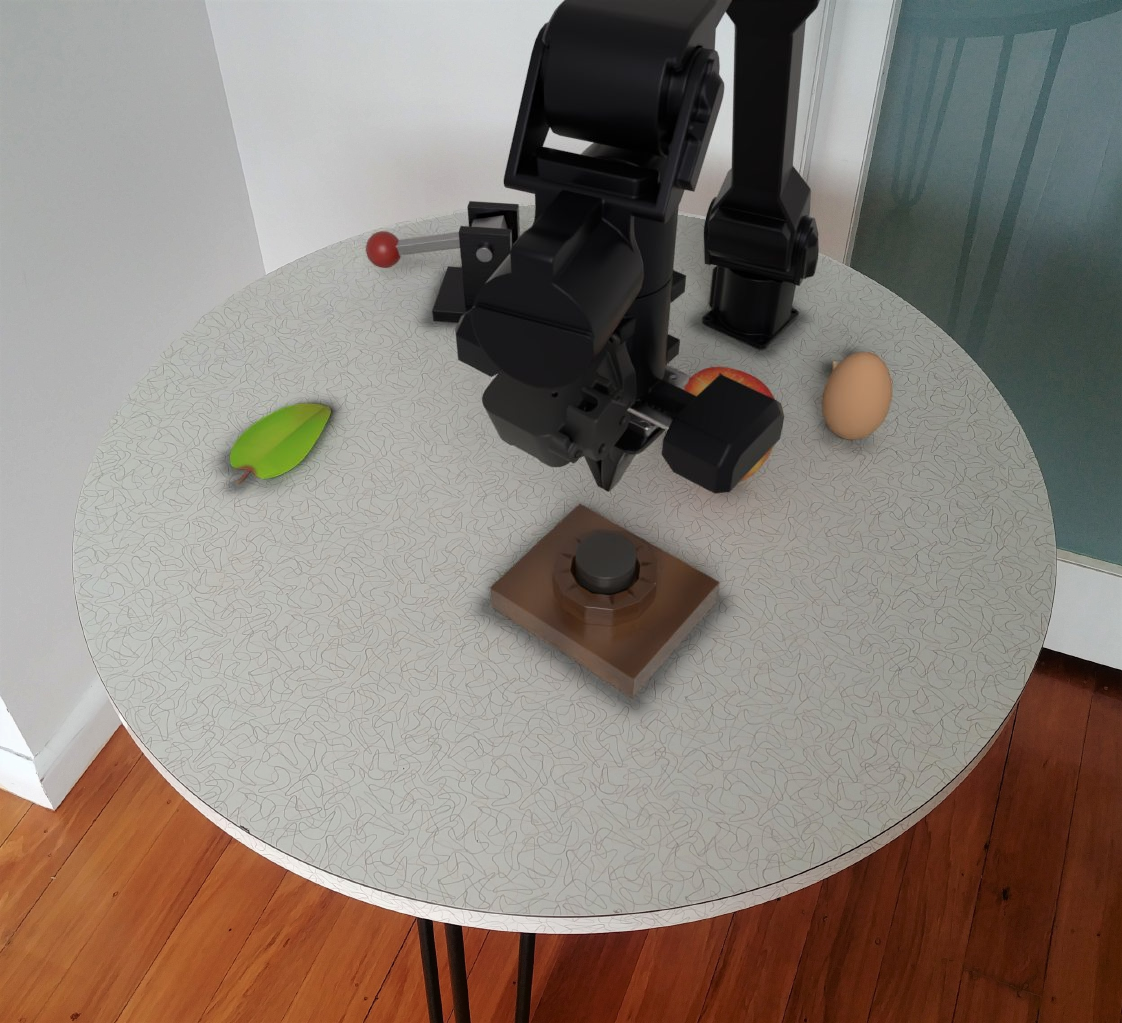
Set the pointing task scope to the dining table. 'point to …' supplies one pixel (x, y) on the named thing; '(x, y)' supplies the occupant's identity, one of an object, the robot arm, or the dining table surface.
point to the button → (605, 563)
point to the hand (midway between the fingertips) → (607, 485)
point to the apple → (709, 374)
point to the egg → (857, 396)
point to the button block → (605, 603)
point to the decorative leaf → (279, 440)
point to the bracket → (476, 259)
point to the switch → (418, 243)
